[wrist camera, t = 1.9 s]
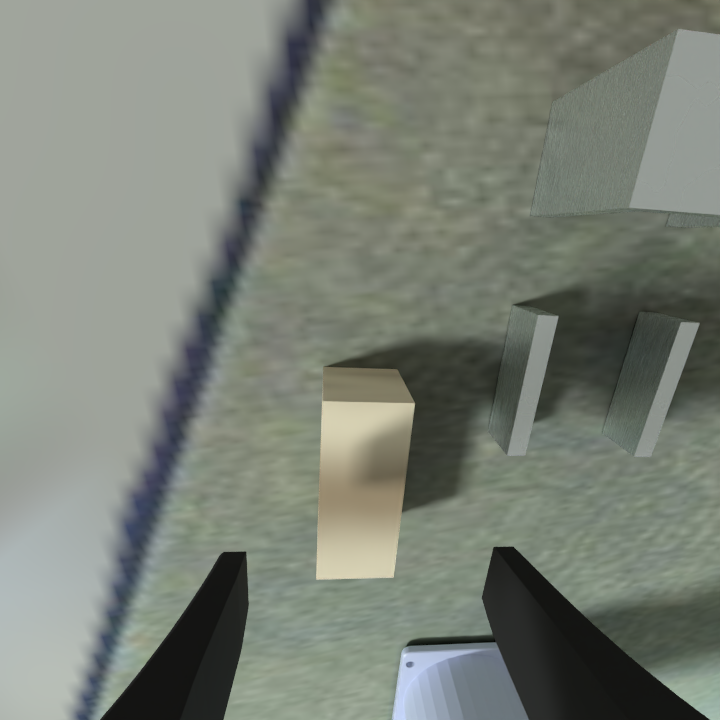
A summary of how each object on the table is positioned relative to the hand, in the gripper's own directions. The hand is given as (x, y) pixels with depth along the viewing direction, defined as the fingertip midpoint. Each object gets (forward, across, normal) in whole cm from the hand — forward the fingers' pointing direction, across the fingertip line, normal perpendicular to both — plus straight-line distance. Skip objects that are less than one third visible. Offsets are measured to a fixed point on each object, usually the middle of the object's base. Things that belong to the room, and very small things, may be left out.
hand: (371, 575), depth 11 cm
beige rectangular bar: (+7, 0, 0) cm, 7 cm away
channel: (+7, -10, -4) cm, 12 cm away
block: (+7, -10, -12) cm, 17 cm away
